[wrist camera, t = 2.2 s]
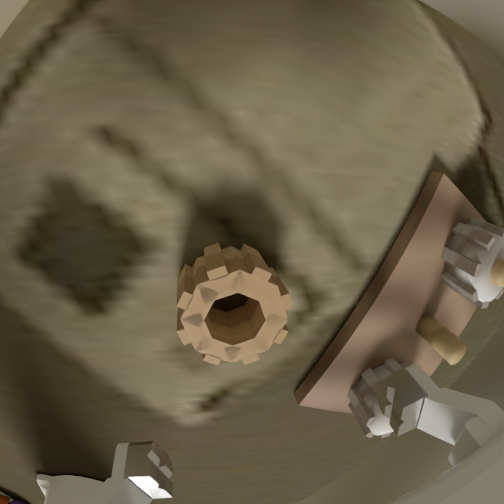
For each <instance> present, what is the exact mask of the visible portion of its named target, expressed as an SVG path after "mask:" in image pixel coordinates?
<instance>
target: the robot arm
mask: <svg viewBox="0 0 504 504" xmlns="http://www.w3.org/2000/svg"><path fill="white" fill-rule="evenodd" d="M378 387H379V388H380V390H381V391H380V392H379V393H378V404H379V407H380V410H381V412H382V413H383V415H384V416H386V417H388V418H390V426H391V427H392V429H393V431H394V432H395V434H396V435H397V436H399V435H401V434H403V433H405V432H408V431H410V430H411V429H414V428H416V427H417V428H418V429H420V430H423V431H424V432H427V433H429V434H431V435H433V436H435V437H437V438H440V439H442V440H444V441H446V442H448V443H450V444H453V445H454V447H453V449H452V451H451V453H450V454H449V457H448V460H449V461H450V463H451V464H452V466H453V467H452V468H450V469H449V470H447V471H446V472H444V473H442V474H441V475H439V476H438V477H436V478H434V479H432V480H431V481H429V482H427V483H426V484H424V485H422V486H420V487H418V488H416V489H415V490H413V491H411V492H409V493H407V494H405V495H403V496H401V497H399V498H397V499H395V500H393V501H391V502H389V503H386V504H504V412H503V411H502V410H501V409H500V408H499V407H498V406H497V405H496V404H495V403H494V402H493V401H490V400H486V399H482V398H478V397H475V396H471V395H467V394H464V393H460V392H457V391H453V390H449V389H446V388H441V389H439V387H438V386H437V385H436V384H435V383H434V382H433V381H432V380H431V379H430V377H429V376H428V375H427V374H426V373H425V372H424V371H423V370H422V369H421V367H420V366H419V365H418V364H413V365H411V366H409V367H406V368H404V369H402V370H399V371H397V372H395V373H393V374H391V375H389V376H387V377H385V378H382V379H380V381H379V386H378ZM160 448H161V445H160V444H159V443H158V442H157V441H146V442H132V443H119V444H118V445H117V447H116V451H115V457H114V463H113V469H112V476H111V478H107V480H106V481H105V482H101V481H98V480H94V479H90V478H85V477H80V476H72V475H60V476H48V475H43V474H37V482H38V484H39V486H40V488H41V490H42V492H43V493H44V495H45V502H44V504H150V503H151V501H152V499H155V498H168V497H173V483H172V482H171V481H170V479H169V477H170V476H171V475H172V473H173V468H172V463H171V459H170V457H169V455H168V454H167V453H166V452H165V451H163V450H161V449H160Z"/></svg>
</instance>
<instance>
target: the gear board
mask: <svg viewBox="0 0 504 504" xmlns="http://www.w3.org/2000/svg"><path fill="white" fill-rule="evenodd" d="M503 287H504V229H503V228H501V227H498V226H496V225H493V224H490V223H488V222H486V221H485V220H484V219H483V217H482V216H481V215H480V214H479V212H478V211H477V210H476V209H475V208H474V206H473V205H472V204H471V203H470V202H469V200H468V199H467V198H466V197H465V196H464V195H463V194H462V192H461V191H460V190H459V189H458V188H457V187H456V186H455V185H454V184H453V182H452V181H451V180H450V179H449V178H448V177H447V176H446V175H445V174H444V173H440V172H435V171H431V173H430V175H429V177H428V179H427V181H426V183H425V185H424V187H423V189H422V192H421V194H420V196H419V198H418V200H417V202H416V204H415V206H414V208H413V210H412V212H411V213H410V215H409V217H408V219H407V221H406V223H405V225H404V227H403V229H402V230H401V232H400V234H399V236H398V238H397V240H396V241H395V243H394V245H393V247H392V249H391V250H390V252H389V254H388V256H387V257H386V259H385V261H384V262H383V264H382V266H381V268H380V269H379V271H378V273H377V274H376V276H375V278H374V279H373V281H372V283H371V284H370V286H369V287H368V289H367V291H366V292H365V294H364V295H363V297H362V299H361V300H360V302H359V303H358V305H357V306H356V308H355V309H354V311H353V312H352V314H351V315H350V317H349V318H348V320H347V321H346V323H345V324H344V326H343V327H342V329H341V330H340V332H339V333H338V335H337V336H336V338H335V339H334V340H333V342H332V343H331V345H330V346H329V347H328V349H327V350H326V352H325V353H324V354H323V356H322V357H321V359H320V360H319V361H318V363H317V364H316V365H315V367H314V368H313V369H312V371H311V372H310V373H309V375H308V376H307V377H306V379H305V380H304V381H303V382H302V384H301V385H300V386H299V388H298V389H297V390H296V391H295V393H294V395H295V398H296V400H297V402H298V405H301V406H306V407H312V408H318V409H324V410H331V411H337V412H344V413H352V414H354V416H355V418H356V420H357V421H358V423H359V425H360V426H361V428H362V430H363V431H364V433H365V435H366V436H367V437H369V438H371V437H372V436H374V435H379V437H380V438H384V437H387V436H389V435H390V434H391V432H393V429H392V427H391V426H390V418H388V417H386V416H384V415H383V413H382V412H381V410H380V407H379V404H378V393H379V392H380V391H381V390H380V388H379V387H378V386H379V381H380V379H382V378H385V377H387V376H389V375H391V374H393V373H395V372H397V371H399V370H402V369H404V368H406V367H409V366H411V365H413V364H418V365H419V366H420V367H421V369H422V370H423V371H424V372H425V373H426V374H427V375H428V376H429V377H430V376H431V375H432V373H433V372H434V371H435V369H436V368H437V367H438V365H439V364H440V363H441V361H442V360H443V359H444V358H445V359H446V360H447V361H448V362H449V363H450V364H451V365H453V364H456V363H457V362H458V361H459V360H460V359H461V358H462V357H463V356H464V354H465V352H466V350H467V345H466V344H465V343H464V342H463V341H462V340H461V339H459V338H458V337H459V335H460V334H461V332H462V331H463V329H464V328H465V326H466V324H467V323H468V321H469V320H470V318H471V316H472V315H473V313H474V311H475V310H476V308H477V306H478V307H479V308H481V309H482V308H487V306H488V304H489V302H490V301H492V300H493V299H494V298H495V299H497V300H498V299H499V297H500V296H501V295H502V294H503V292H504V291H503Z"/></svg>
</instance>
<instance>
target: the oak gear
mask: <svg viewBox="0 0 504 504" xmlns="http://www.w3.org/2000/svg"><path fill="white" fill-rule="evenodd" d="M235 293H240V294H243V295H245V296H248V299H247V301H246V302H245V304H244V306H241V307H238V308H235V309H233V310H230V311H227V312H225V311H222V310H219V309H217V308H214V307H212V304H213V302H214V301H215V300H218V299H221V298H224V297H227V296H230V295H233V294H235ZM176 307H178V316H177V333H178V335H179V337H180V339H181V341H182V343H183V345H185V344H188V343H192V344H193V346H194V348H195V351H197V352H200V353H202V357H203V361H206V362H209V363H212V364H215V365H218V364H219V363H220V361H221V360H225V361H228V362H231V363H232V362H235V361H238V360H241V359H242V361H243V363H244V365H245V364H248V363H251V362H254V361H257V360H260V359H259V356H258V354H259V353H262V352H264V351H268V349H269V348H270V346H271V345H272V343H273V342H275V343H278V344H281V342H282V341H283V339H284V338H285V336H286V335H287V333H288V332H289V331H288V329H287V327H286V325H285V323H286V322H287V321H288V319H287V316H286V313H285V311H286V310H289V309H292V308H293V305H292V301H291V297H290V294H289V292H288V290H287V289H286V287H285V286H284V284H283V283H282V281H281V280H280V278H279V277H278V275H277V274H276V272H275V271H274V269H273V268H272V267H270V268H268V266H267V265H266V263H265V261H264V260H263V258H262V257H261V255H260V253H259V252H258V250H257V249H254V248H252V247H250V246H248V245H246V244H243V246H242V248H241V250H238V249H236V248H234V247H232V246H230V247H227V248H224V249H221V248H220V245H219V242H218V243H215V244H212V245H209V246H207V247H204V255H203V256H201V257H198V258H196V260H195V262H194V264H193V266H189V265H187V264H185V265H184V267H183V269H182V271H181V273H180V275H179V281H178V293H177V306H176Z"/></svg>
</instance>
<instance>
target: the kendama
mask: <svg viewBox="0 0 504 504" xmlns="http://www.w3.org/2000/svg"><path fill="white" fill-rule="evenodd" d="M9 500H10V497H7V496H3V495H0V504H26V503H24V502H23V501H19V500H14V501H12V502H10V503H9Z"/></svg>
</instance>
